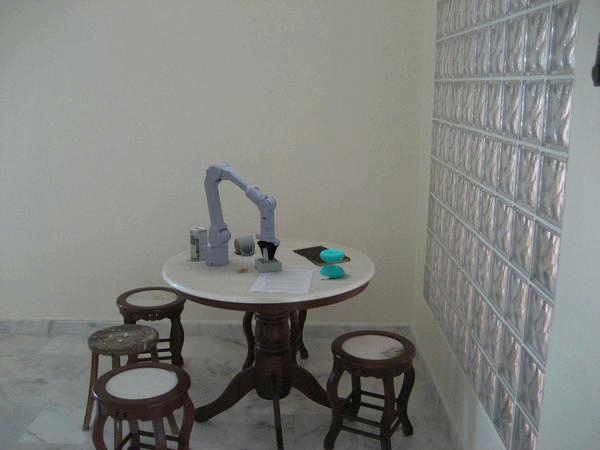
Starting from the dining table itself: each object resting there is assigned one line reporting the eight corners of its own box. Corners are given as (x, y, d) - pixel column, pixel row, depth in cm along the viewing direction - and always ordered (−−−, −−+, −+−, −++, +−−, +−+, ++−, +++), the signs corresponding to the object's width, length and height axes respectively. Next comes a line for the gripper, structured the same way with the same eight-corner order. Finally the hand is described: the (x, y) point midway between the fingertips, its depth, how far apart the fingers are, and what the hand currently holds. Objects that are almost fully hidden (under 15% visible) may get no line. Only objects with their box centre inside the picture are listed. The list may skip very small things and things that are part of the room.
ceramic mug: (233, 251, 305) (233, 235, 304) (250, 249, 309) (249, 233, 307) (240, 257, 296) (240, 241, 294) (257, 255, 299) (257, 239, 297)
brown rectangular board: (236, 279, 265) (236, 276, 265) (229, 270, 277) (229, 267, 277) (284, 274, 271) (284, 271, 271) (275, 265, 283) (275, 262, 283)
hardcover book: (319, 267, 282) (319, 262, 281) (292, 255, 301) (292, 250, 301) (350, 262, 290) (350, 257, 289) (322, 250, 309) (322, 245, 309)
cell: (266, 264, 272) (266, 248, 270) (261, 262, 275) (261, 246, 273) (274, 262, 274) (274, 247, 273) (269, 260, 277) (269, 245, 276)
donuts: (343, 255, 262) (318, 254, 264) (343, 279, 264) (318, 278, 266) (345, 248, 272) (321, 247, 273) (345, 272, 274) (321, 271, 276)
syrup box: (190, 260, 292) (188, 228, 289) (201, 257, 296) (199, 226, 293) (197, 262, 288) (196, 230, 285) (208, 260, 292) (207, 228, 289)
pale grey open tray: (260, 272, 270) (260, 264, 269) (255, 266, 278) (254, 258, 277) (281, 270, 273) (281, 262, 272) (275, 264, 281) (275, 256, 280)
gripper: (249, 225, 274) (250, 256, 278) (269, 231, 263) (270, 264, 266) (263, 222, 279) (264, 253, 282) (284, 229, 267) (284, 261, 271)
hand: (268, 258), depth 274 cm, fingers closed on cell, 4 cm apart
